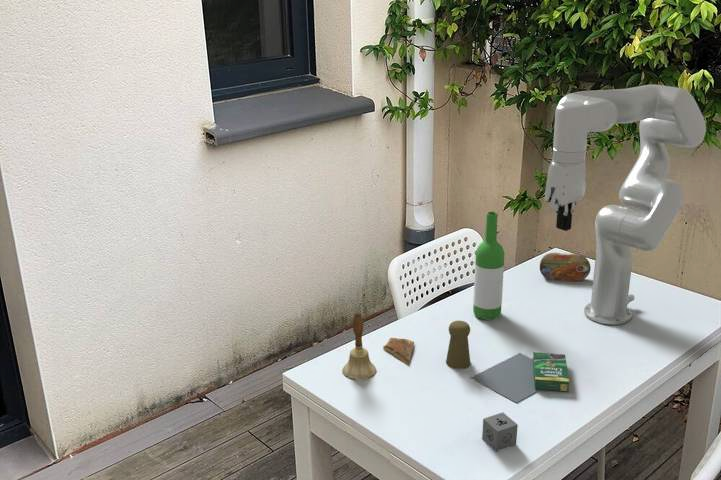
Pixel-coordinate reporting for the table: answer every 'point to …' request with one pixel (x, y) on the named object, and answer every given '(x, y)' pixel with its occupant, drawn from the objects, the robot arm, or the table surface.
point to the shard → (400, 348)
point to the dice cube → (499, 431)
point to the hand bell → (358, 355)
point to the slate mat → (510, 378)
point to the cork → (458, 345)
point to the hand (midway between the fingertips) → (563, 228)
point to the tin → (565, 266)
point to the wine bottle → (489, 273)
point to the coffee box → (550, 371)
